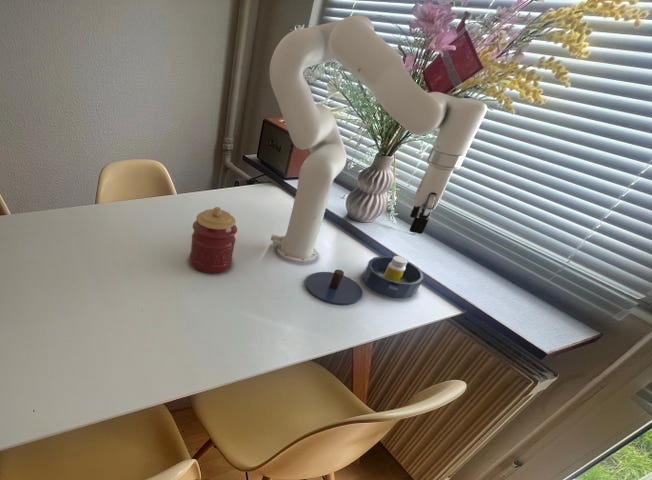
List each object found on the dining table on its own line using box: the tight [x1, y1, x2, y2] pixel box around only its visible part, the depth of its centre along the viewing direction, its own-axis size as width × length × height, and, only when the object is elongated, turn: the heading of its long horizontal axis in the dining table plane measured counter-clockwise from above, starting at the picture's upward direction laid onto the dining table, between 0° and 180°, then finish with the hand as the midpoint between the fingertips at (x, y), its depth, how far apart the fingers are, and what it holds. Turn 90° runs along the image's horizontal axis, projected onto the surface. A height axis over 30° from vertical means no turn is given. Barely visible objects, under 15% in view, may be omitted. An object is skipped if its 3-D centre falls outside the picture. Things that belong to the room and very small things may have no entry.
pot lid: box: [304, 269, 364, 306], centre depth 123 cm, size 16×16×6 cm
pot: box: [362, 254, 424, 300], centre depth 127 cm, size 15×21×5 cm
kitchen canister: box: [189, 206, 238, 274], centre depth 126 cm, size 13×13×18 cm
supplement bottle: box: [382, 255, 409, 282], centre depth 125 cm, size 5×5×8 cm
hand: (415, 224), depth 116 cm, fingers open, 9 cm apart
